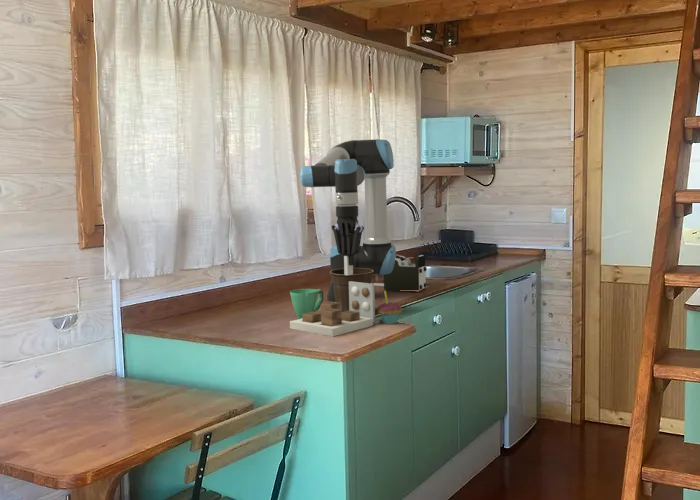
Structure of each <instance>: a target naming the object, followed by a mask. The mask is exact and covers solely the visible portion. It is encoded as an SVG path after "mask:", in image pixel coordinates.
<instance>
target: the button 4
mask: <svg viewBox="0 0 700 500" xmlns="http://www.w3.org/2000/svg"><path fill="white" fill-rule="evenodd" d="M356 320H360V312H356V311H350V310H349V311H345V312H342V321H348V322H352V321H356Z"/></svg>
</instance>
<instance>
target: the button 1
mask: <svg viewBox="0 0 700 500" xmlns="http://www.w3.org/2000/svg"><path fill="white" fill-rule="evenodd" d="M302 318H303V322H309V323H315V322H319V321H321V312H317V311H316V312H309V313H304V314H302Z"/></svg>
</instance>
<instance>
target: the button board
mask: <svg viewBox="0 0 700 500" xmlns="http://www.w3.org/2000/svg"><path fill="white" fill-rule="evenodd" d="M373 325H374V324H373V318H366V317H360V320H356V321H352V322H348V321H342V323H341V324H337V325H333V326H330V325H325V324H321V321H319V322H315V323H309V322H303V318H302V319H298V318H297V319H294V320H290V321H289V329H290V330H295V331H302V332H306V333H312V334H317V335H322V336H327V337H333V338H334V337H335V336H339V335H344V334H347V333H351V332H354V331H357V330H362V329H367V328H370V327H373Z"/></svg>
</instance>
